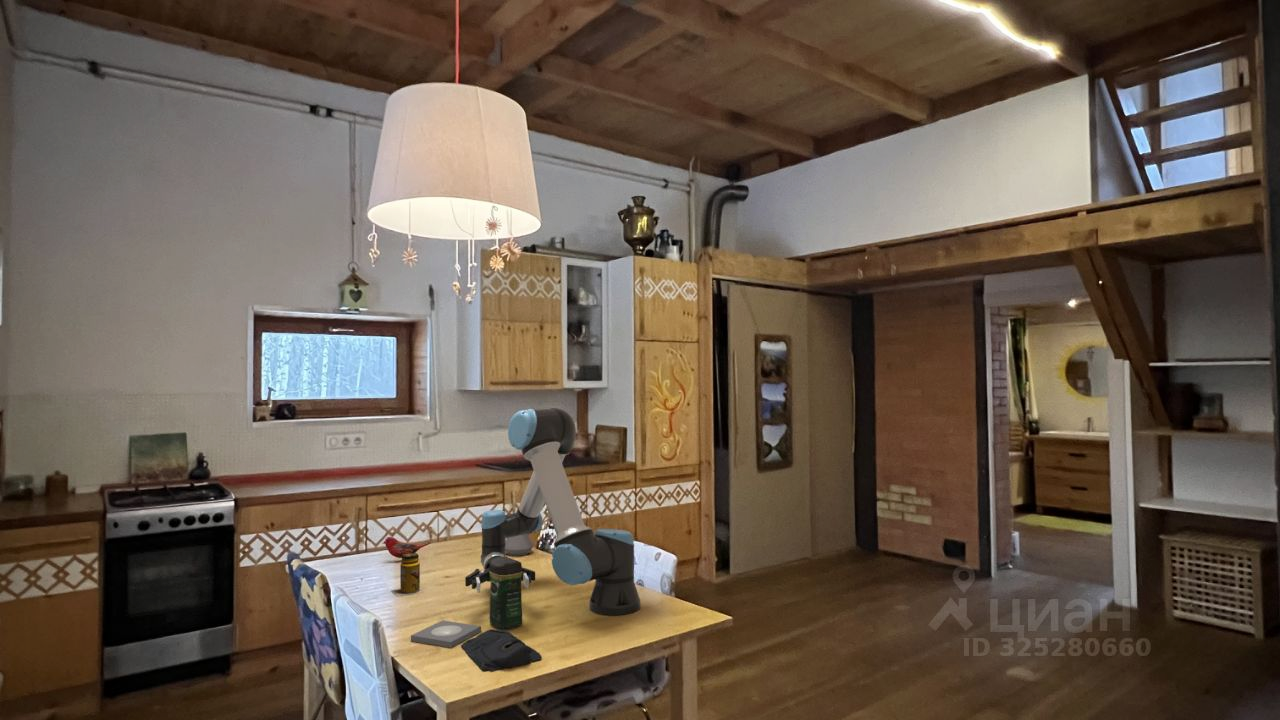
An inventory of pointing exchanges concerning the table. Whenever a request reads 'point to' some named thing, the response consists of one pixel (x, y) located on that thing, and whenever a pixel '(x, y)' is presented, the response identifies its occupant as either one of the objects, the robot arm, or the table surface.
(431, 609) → the table surface
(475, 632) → the plate
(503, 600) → the coffee jar
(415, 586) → the condiment
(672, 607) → the table surface
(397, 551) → the decorative bird figurine
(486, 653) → the folded black cloth
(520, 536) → the coffee pot
